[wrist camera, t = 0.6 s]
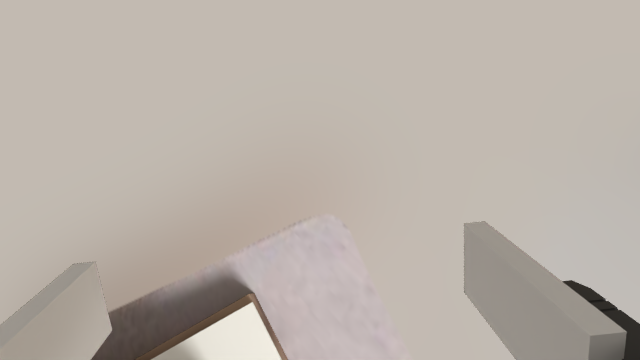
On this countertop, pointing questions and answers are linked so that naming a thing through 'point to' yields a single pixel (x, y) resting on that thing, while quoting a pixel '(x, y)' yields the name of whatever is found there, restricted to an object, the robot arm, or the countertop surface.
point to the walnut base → (211, 320)
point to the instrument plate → (228, 340)
